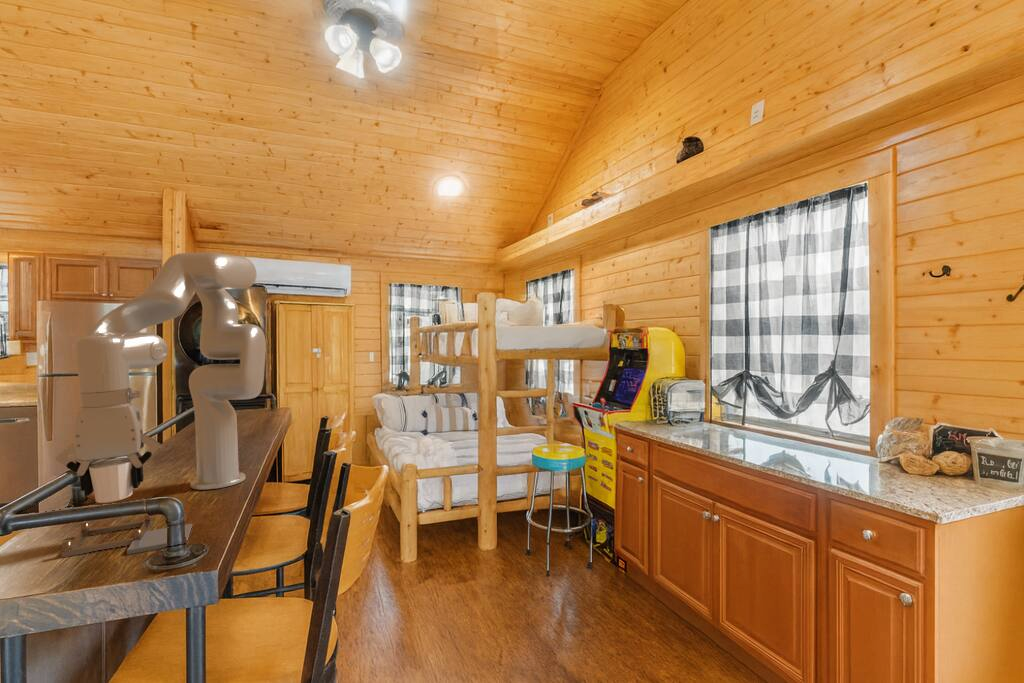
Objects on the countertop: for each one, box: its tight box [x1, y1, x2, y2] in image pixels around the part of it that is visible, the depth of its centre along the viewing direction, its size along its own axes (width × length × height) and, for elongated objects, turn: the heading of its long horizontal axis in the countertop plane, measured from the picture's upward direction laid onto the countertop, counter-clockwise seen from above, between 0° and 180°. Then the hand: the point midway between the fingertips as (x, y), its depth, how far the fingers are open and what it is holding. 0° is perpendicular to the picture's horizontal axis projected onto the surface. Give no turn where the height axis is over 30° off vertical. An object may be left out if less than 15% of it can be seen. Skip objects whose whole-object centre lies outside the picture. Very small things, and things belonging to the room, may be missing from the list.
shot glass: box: [89, 456, 134, 504], centre depth 96 cm, size 7×7×7 cm
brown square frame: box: [61, 515, 153, 558], centre depth 95 cm, size 11×11×2 cm
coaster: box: [126, 523, 194, 556], centre depth 94 cm, size 9×9×1 cm
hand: (113, 489), depth 96 cm, fingers closed on shot glass, 6 cm apart
